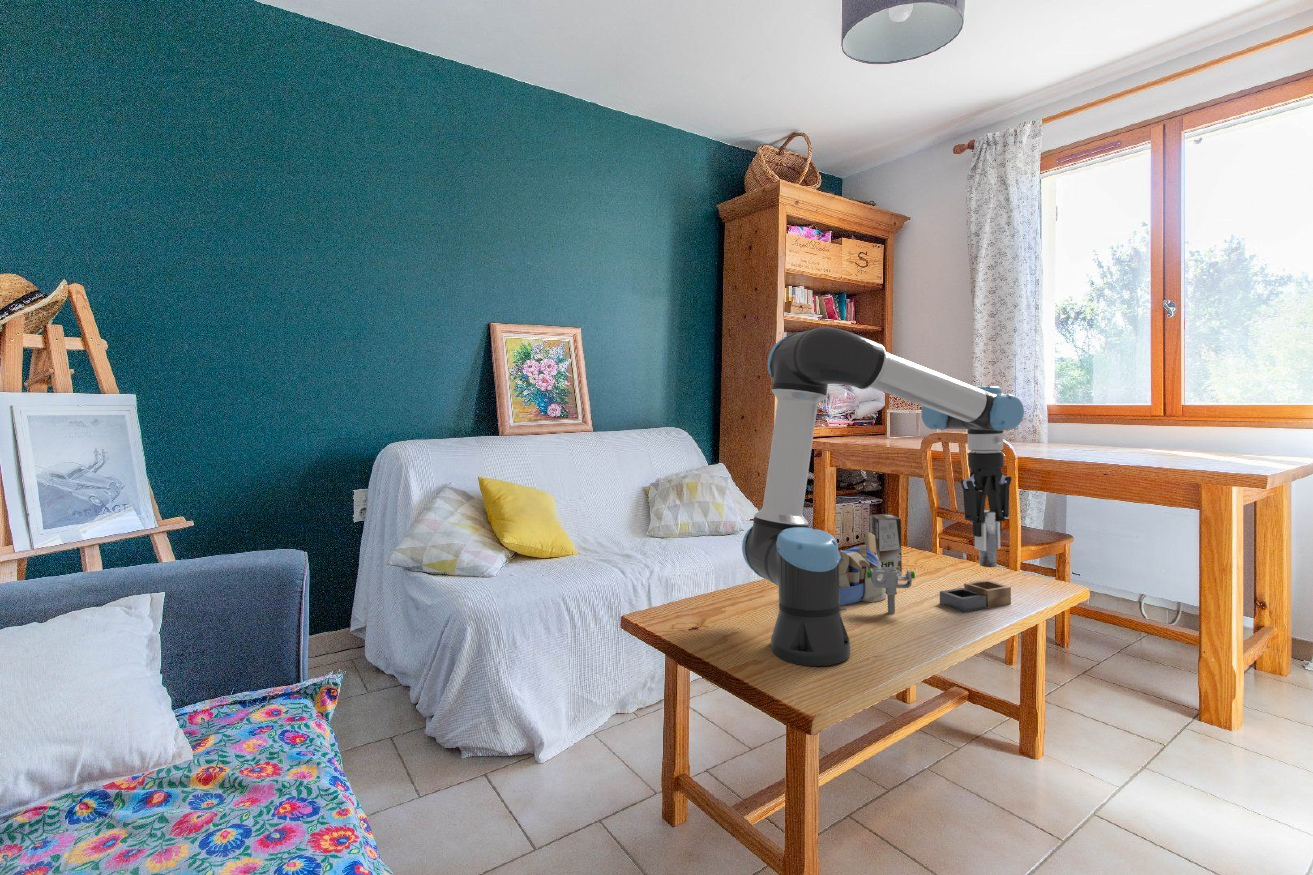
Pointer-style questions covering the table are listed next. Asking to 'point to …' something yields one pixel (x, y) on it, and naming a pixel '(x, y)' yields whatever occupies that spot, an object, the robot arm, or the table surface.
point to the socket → (963, 599)
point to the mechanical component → (890, 583)
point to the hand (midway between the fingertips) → (987, 548)
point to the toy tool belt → (859, 573)
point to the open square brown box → (991, 592)
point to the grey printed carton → (887, 540)
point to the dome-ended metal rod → (989, 540)
